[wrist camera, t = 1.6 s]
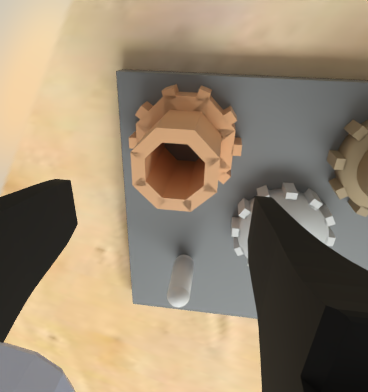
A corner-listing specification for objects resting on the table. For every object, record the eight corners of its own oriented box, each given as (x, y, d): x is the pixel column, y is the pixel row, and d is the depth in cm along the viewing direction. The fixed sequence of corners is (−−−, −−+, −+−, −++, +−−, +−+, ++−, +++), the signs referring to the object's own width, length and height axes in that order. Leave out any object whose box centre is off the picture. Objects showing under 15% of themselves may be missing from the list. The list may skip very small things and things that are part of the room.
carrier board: (136, 293, 29) (112, 363, 23) (122, 69, 19) (73, 84, 13) (365, 320, 27) (406, 405, 21) (474, 85, 17) (609, 111, 11)
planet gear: (137, 182, 22) (112, 223, 17) (132, 81, 18) (99, 97, 14) (234, 190, 21) (237, 235, 16) (247, 87, 18) (255, 105, 13)
